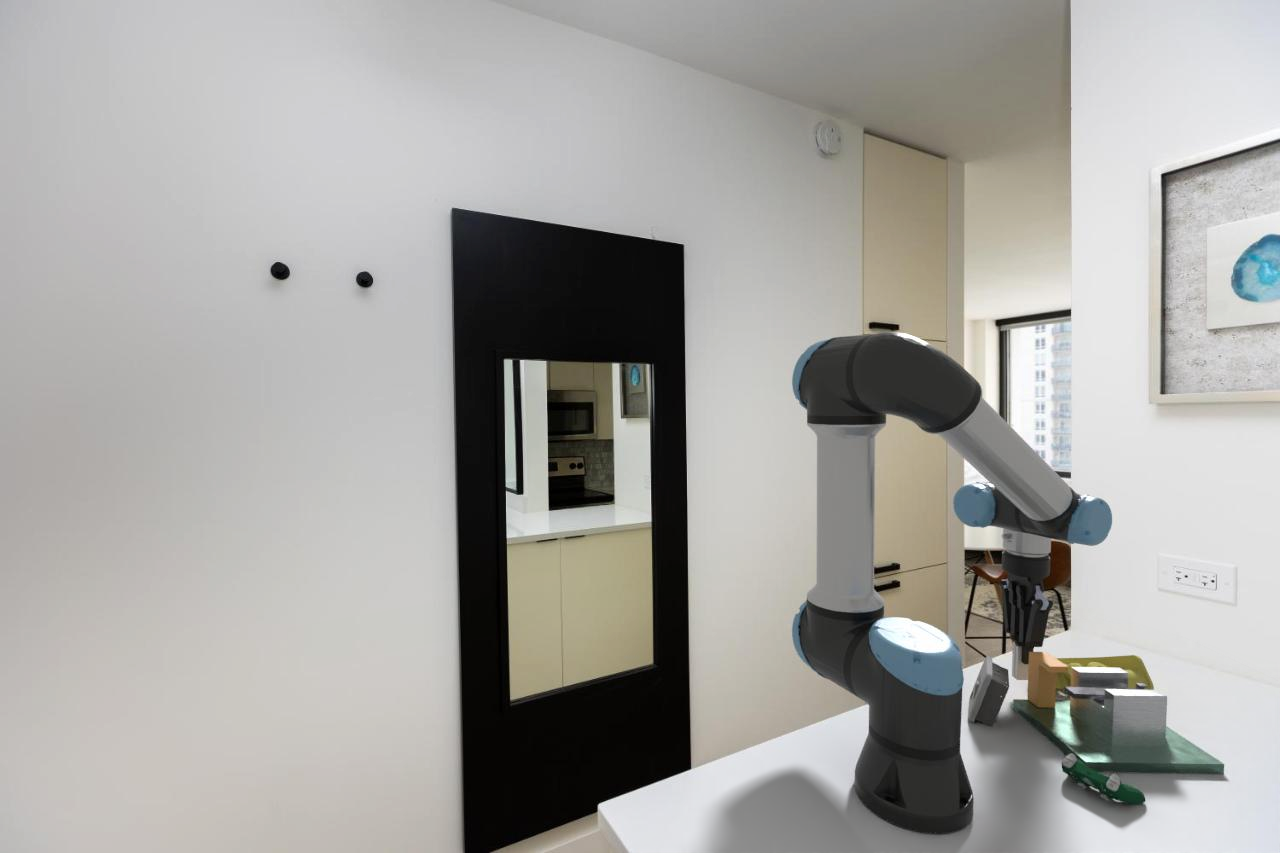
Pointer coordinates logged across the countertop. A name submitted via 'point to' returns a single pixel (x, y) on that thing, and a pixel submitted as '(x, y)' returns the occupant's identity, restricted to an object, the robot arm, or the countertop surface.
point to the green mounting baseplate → (1117, 728)
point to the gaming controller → (1101, 782)
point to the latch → (1043, 678)
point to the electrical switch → (988, 693)
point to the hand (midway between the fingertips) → (1021, 677)
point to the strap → (1089, 692)
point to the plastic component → (1127, 663)
